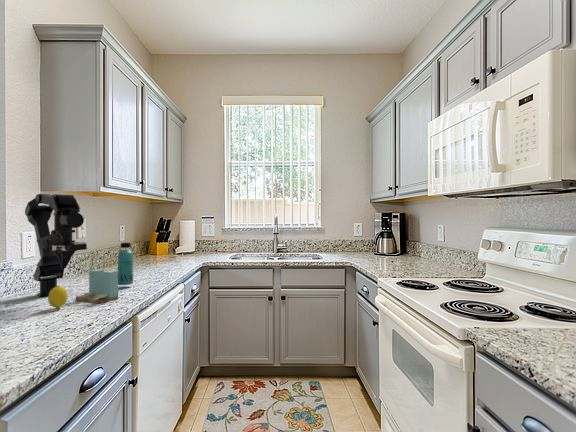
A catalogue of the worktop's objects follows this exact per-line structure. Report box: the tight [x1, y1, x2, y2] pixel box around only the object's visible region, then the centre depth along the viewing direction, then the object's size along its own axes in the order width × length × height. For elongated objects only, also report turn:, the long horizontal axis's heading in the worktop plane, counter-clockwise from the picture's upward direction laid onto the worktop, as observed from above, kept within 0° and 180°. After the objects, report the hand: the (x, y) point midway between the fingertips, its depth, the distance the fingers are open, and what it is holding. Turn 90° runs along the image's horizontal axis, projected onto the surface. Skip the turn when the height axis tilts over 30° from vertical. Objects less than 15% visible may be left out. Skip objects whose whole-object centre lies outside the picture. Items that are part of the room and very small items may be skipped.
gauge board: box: [75, 294, 119, 304], centre depth 127 cm, size 14×8×1 cm, turn 67°
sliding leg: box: [83, 268, 105, 296], centre depth 129 cm, size 4×6×10 cm, turn 157°
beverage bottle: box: [117, 242, 134, 286], centre depth 149 cm, size 6×7×20 cm
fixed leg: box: [99, 270, 119, 298], centre depth 125 cm, size 4×6×10 cm, turn 157°
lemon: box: [47, 285, 69, 310], centre depth 114 cm, size 6×6×8 cm
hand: (63, 268), depth 126 cm, fingers closed
